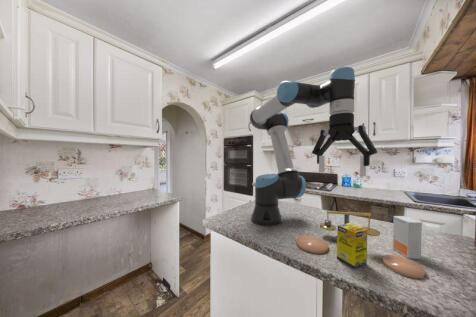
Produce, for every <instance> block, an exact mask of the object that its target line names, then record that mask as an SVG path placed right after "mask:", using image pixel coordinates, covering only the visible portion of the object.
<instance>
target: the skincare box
mask: <svg viewBox="0 0 476 317" xmlns="http://www.w3.org/2000/svg"><path fill="white" fill-rule="evenodd" d="M392 222H393V223H392V224H393V227H392V228H393V229H392V249H393V250H395V251H396V252H397V253H399V254H401V255H402V256H404V258H407V259H413V260H414V259H418V260H421V258H422V235H423V234H422V230H423V229H422V228H423V226H422V225H423V223H422V222H421V221H419V220H416V219H413V218H411V217H408V216H405V215H393V221H392Z"/></svg>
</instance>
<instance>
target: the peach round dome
mask: <svg viewBox="0 0 476 317" xmlns="http://www.w3.org/2000/svg"><path fill="white" fill-rule="evenodd" d="M295 244H296V246H297V247H298V248H299V249H301V250H302V251H304V252H307V253H311V254H318V255H319V254H326V253H327V252H328V251H329V246H330V245H329V243H328V242H327V241H326V239H325V240H324V239H323V238H321V237H319V236H315V235H309V234H308V235H307V234H304V235H299V236H297V237H296V240H295Z"/></svg>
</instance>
